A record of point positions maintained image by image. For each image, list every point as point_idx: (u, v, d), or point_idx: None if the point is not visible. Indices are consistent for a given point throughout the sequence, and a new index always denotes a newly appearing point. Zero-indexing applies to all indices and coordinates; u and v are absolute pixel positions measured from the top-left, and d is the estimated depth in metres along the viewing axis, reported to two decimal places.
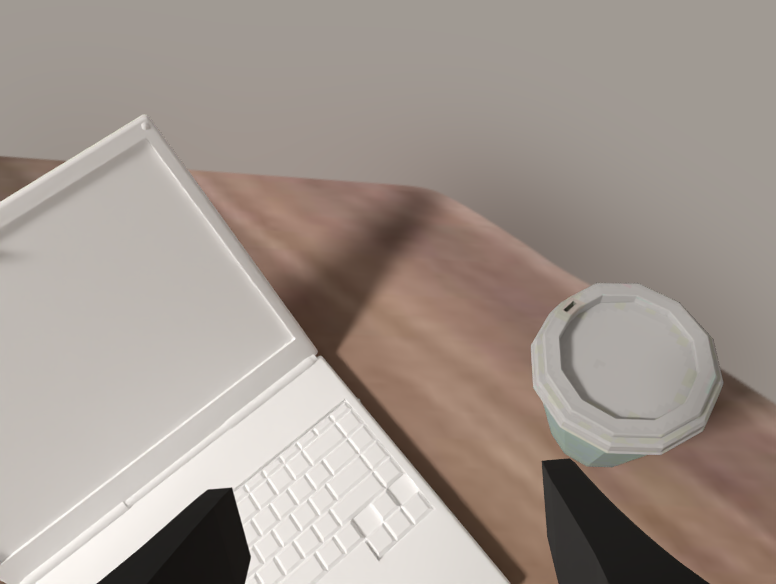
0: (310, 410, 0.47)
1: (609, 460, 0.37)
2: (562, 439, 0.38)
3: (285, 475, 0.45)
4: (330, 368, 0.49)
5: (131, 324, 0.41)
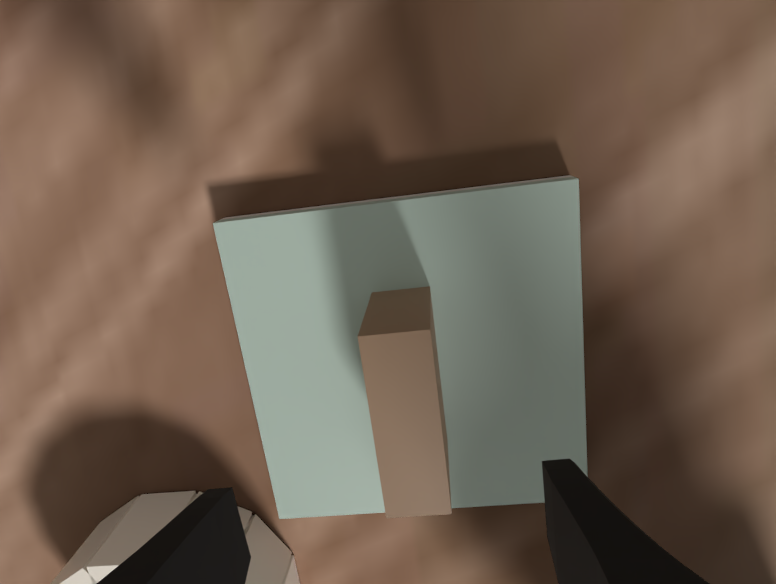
0: None
1: None
2: None
3: None
4: None
5: None
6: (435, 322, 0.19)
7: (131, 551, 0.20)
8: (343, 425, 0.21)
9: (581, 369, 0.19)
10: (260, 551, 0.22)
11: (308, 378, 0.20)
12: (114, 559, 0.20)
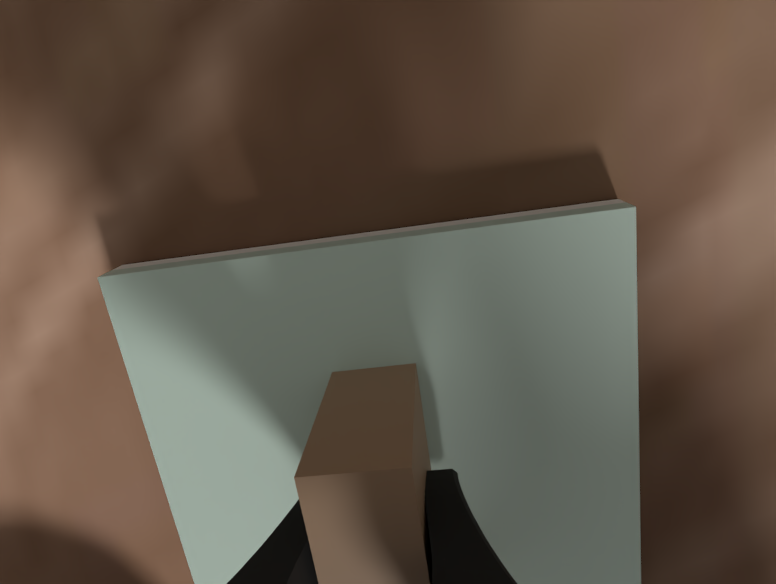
0: None
1: None
2: None
3: None
4: None
5: None
6: (425, 412, 0.13)
7: None
8: None
9: (635, 475, 0.13)
10: None
11: (248, 487, 0.14)
12: None
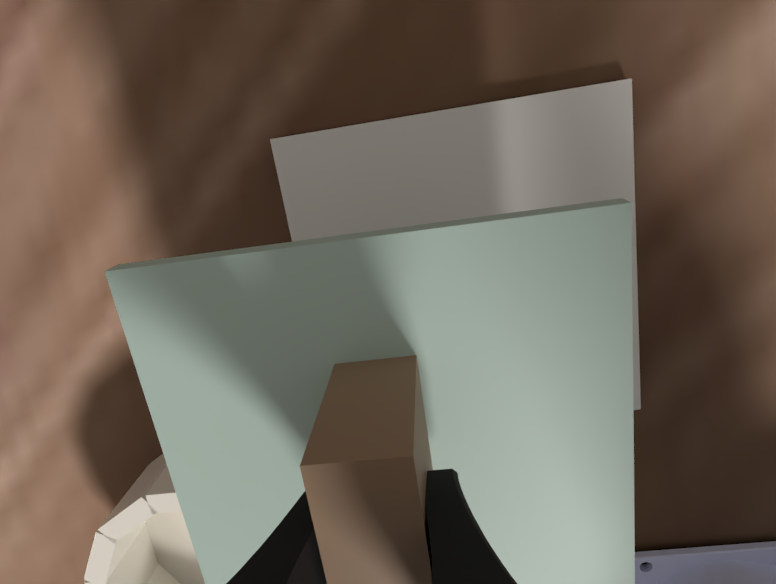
0: None
1: None
2: None
3: None
4: None
5: None
6: (425, 403, 0.14)
7: None
8: None
9: (630, 463, 0.14)
10: None
11: (253, 476, 0.15)
12: (172, 487, 0.20)
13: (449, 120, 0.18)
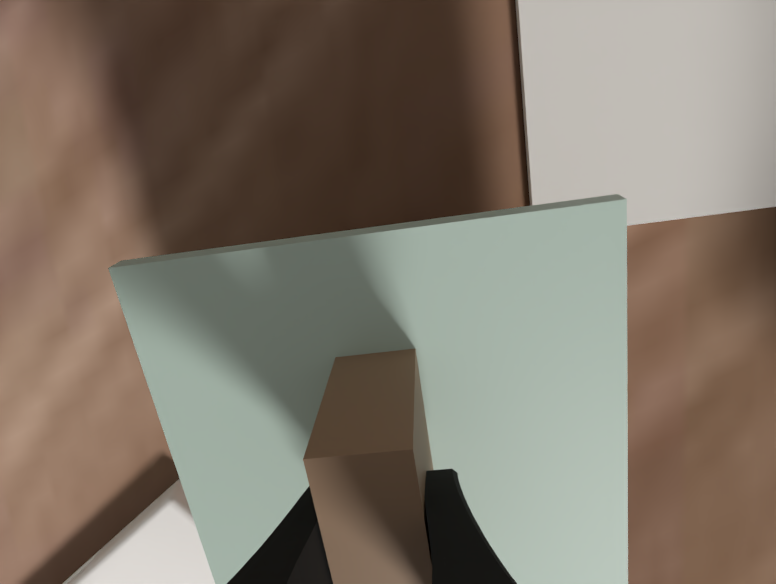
0: None
1: None
2: None
3: None
4: None
5: None
6: (424, 394, 0.14)
7: None
8: None
9: (623, 452, 0.14)
10: None
11: (256, 466, 0.15)
12: None
13: None
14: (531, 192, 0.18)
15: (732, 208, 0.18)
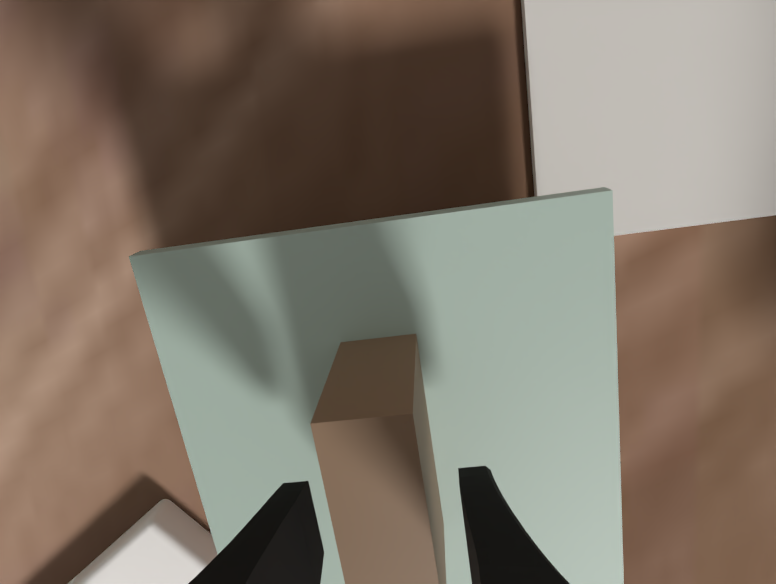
0: None
1: None
2: None
3: None
4: None
5: None
6: (424, 379, 0.15)
7: None
8: None
9: (615, 436, 0.15)
10: None
11: (263, 450, 0.16)
12: None
13: None
14: None
15: (751, 214, 0.17)
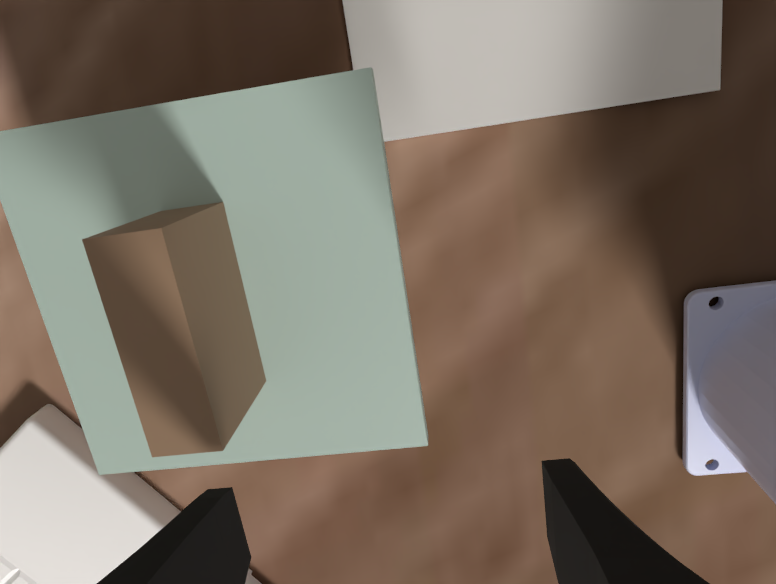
0: None
1: None
2: None
3: None
4: None
5: None
6: (235, 244, 0.17)
7: None
8: None
9: (401, 294, 0.17)
10: None
11: None
12: None
13: None
14: None
15: (544, 113, 0.19)
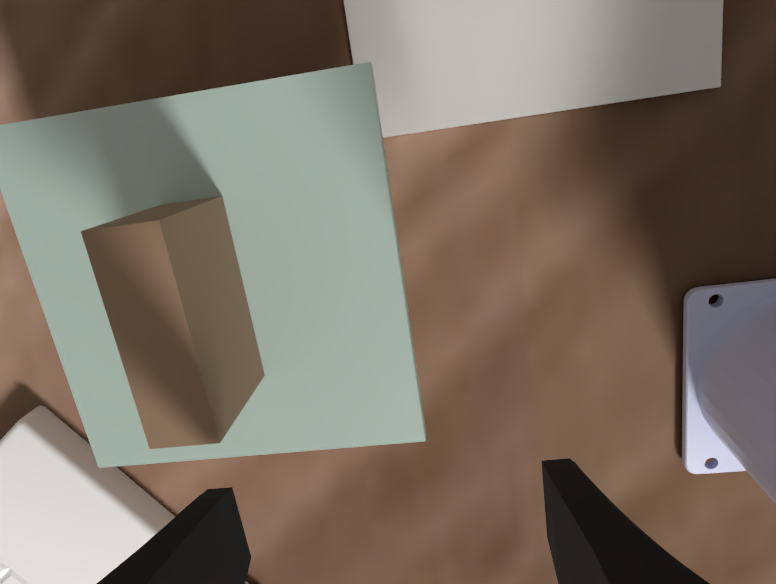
0: None
1: None
2: None
3: None
4: None
5: None
6: (234, 238, 0.17)
7: None
8: None
9: (399, 289, 0.17)
10: None
11: None
12: None
13: None
14: None
15: (544, 109, 0.19)
